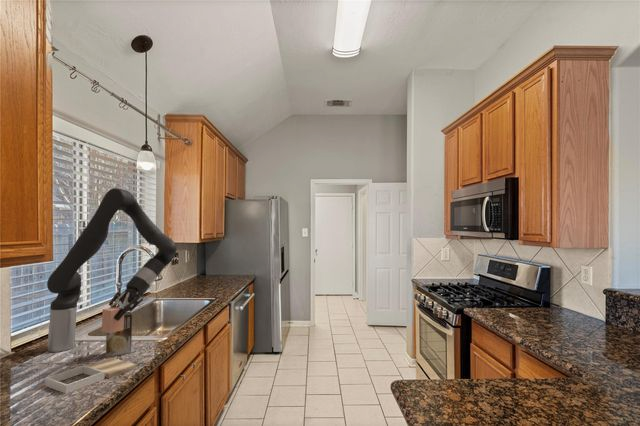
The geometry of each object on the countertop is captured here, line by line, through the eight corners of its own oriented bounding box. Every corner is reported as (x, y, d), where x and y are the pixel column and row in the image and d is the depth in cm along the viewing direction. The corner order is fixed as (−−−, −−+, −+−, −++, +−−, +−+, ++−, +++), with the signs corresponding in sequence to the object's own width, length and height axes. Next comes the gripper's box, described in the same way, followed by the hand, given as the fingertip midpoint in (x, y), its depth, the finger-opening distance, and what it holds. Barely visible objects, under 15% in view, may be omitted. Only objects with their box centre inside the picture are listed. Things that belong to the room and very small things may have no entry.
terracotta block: (101, 331, 125) (102, 309, 125) (115, 328, 129) (115, 306, 130) (110, 333, 123) (111, 310, 123) (123, 329, 127) (124, 308, 127)
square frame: (44, 385, 112) (45, 377, 112) (83, 372, 122) (84, 365, 122) (65, 393, 106) (66, 385, 106) (104, 379, 117) (104, 371, 117)
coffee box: (130, 348, 147) (131, 311, 148) (131, 353, 142) (133, 314, 143) (104, 352, 142) (106, 313, 143) (105, 357, 137) (107, 317, 138)
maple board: (84, 370, 124) (85, 366, 124) (112, 361, 133) (112, 357, 133) (109, 378, 118) (109, 374, 118) (135, 368, 126) (136, 364, 127)
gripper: (124, 274, 138) (92, 310, 126) (148, 276, 131) (116, 314, 120) (135, 285, 142) (105, 321, 131) (159, 288, 136) (130, 326, 124)
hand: (111, 318), depth 125 cm, fingers closed on terracotta block, 5 cm apart
